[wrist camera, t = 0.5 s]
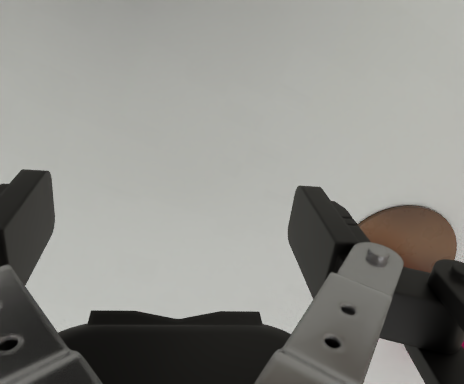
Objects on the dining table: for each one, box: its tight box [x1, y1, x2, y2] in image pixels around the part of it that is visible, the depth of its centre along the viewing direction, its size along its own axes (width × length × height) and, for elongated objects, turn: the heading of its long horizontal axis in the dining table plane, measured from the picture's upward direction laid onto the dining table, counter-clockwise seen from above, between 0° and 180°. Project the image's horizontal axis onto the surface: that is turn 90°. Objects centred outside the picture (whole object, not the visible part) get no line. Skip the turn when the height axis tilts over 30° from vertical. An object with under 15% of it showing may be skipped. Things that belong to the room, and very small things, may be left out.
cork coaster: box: [357, 206, 457, 273], centre depth 38 cm, size 12×12×1 cm
